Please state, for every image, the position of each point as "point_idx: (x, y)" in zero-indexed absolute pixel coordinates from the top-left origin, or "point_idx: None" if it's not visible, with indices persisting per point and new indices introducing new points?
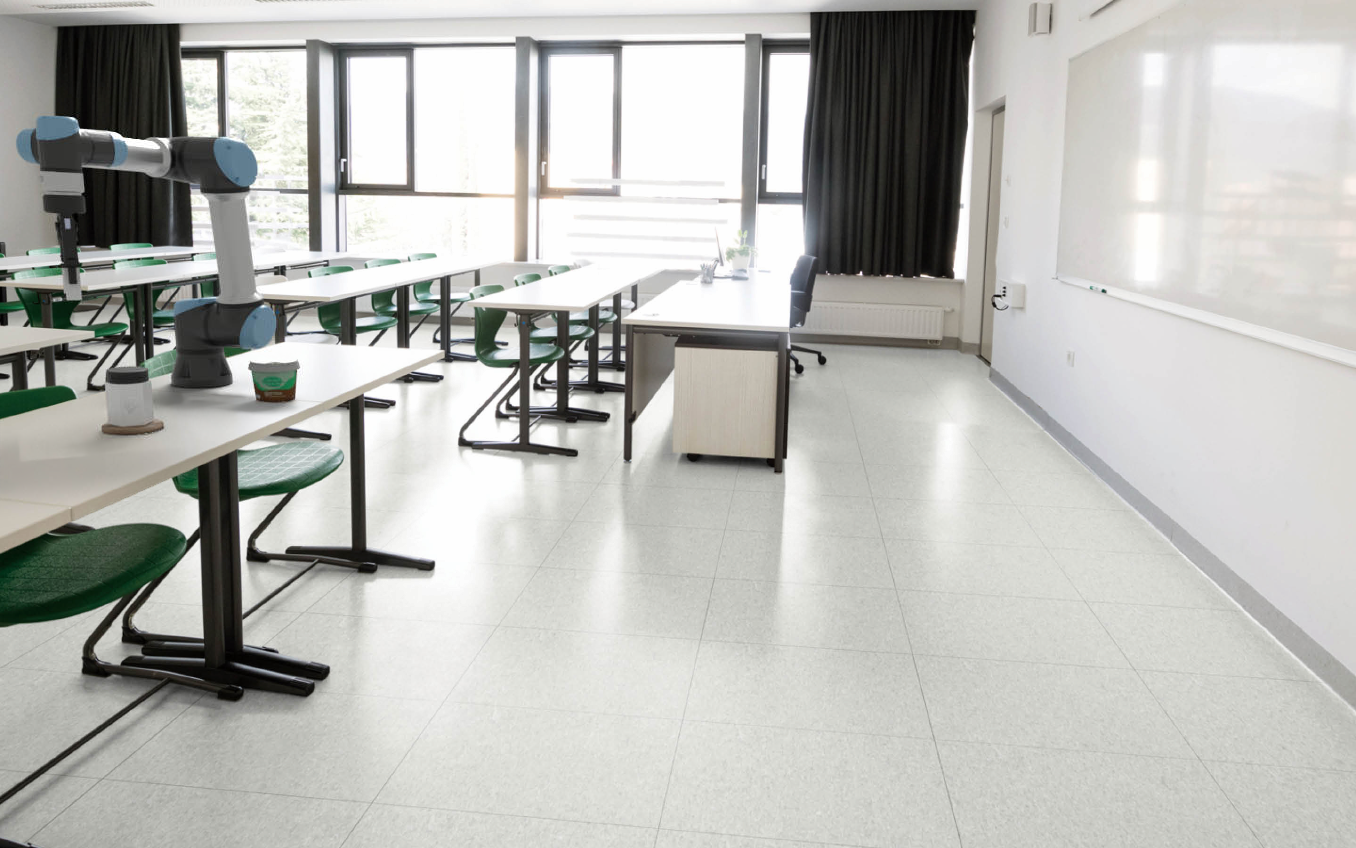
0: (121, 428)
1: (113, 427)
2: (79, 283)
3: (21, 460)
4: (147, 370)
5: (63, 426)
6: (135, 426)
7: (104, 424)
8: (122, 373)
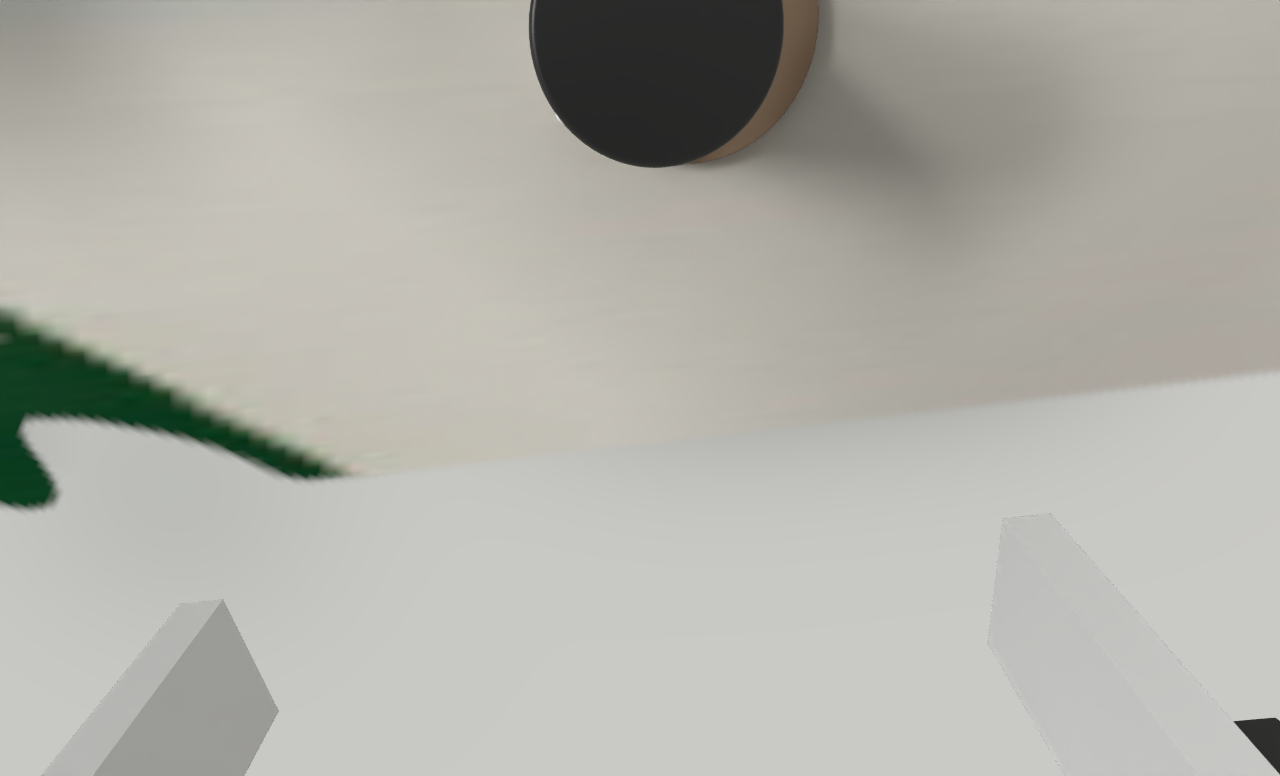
0: None
1: None
2: (1205, 700)
3: (1058, 372)
4: None
5: (560, 304)
6: None
7: None
8: (778, 61)
